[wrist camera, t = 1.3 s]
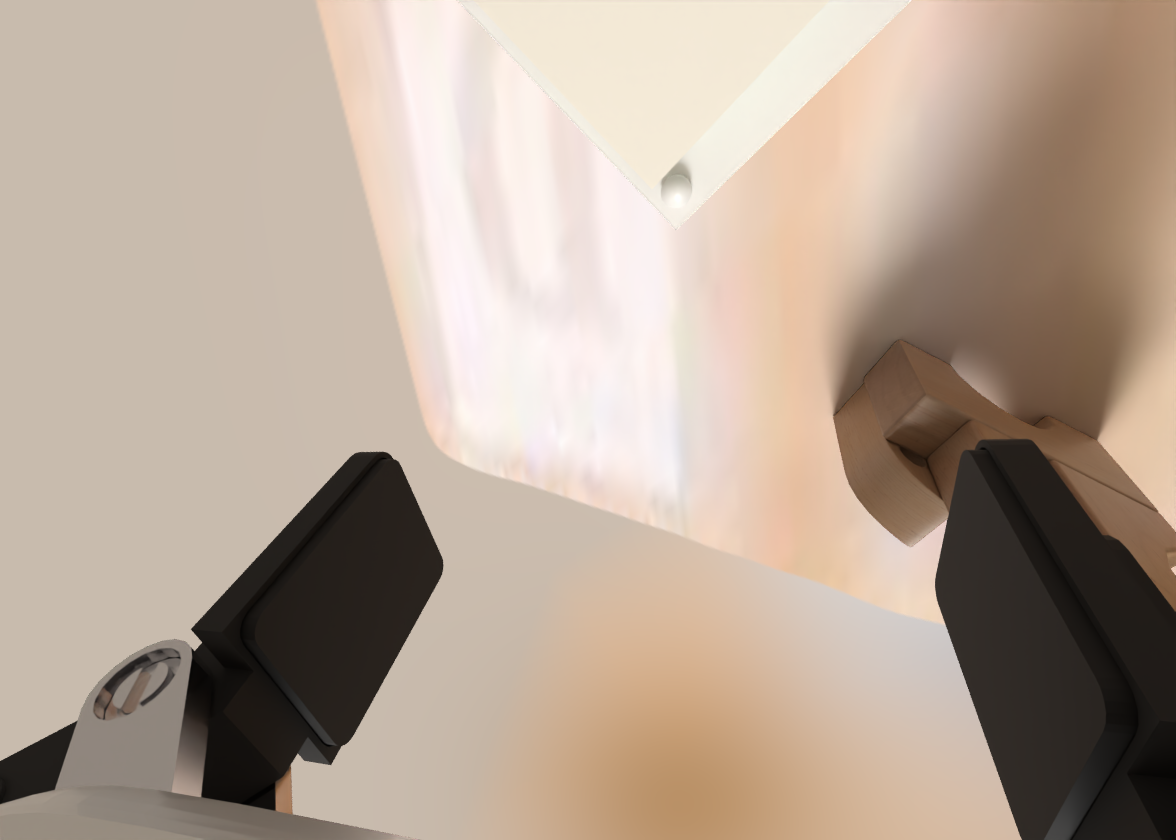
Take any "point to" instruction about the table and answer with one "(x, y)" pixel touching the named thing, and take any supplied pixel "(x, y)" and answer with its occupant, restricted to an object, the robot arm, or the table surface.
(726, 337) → the table surface
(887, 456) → the wooden toy
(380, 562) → the robot arm
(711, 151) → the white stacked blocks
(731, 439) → the table surface
